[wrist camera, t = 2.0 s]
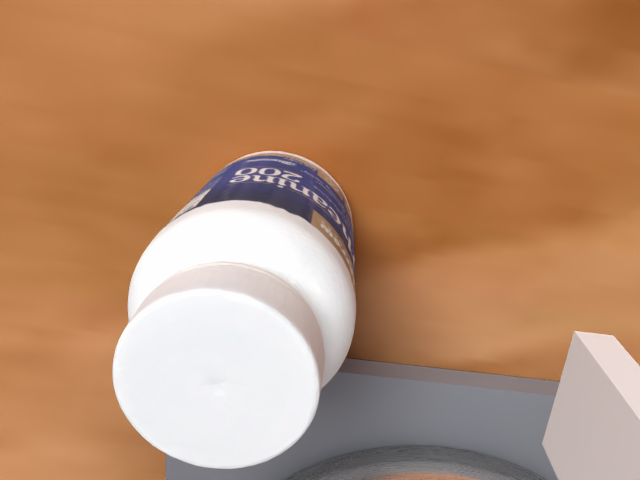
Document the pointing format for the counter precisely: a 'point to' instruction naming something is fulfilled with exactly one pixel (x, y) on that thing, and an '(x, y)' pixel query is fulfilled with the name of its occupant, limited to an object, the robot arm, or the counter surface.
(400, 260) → the counter surface
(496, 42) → the counter surface
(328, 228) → the pill bottle
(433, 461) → the grey shallow round piece
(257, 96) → the counter surface
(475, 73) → the counter surface
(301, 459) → the grey square plate
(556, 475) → the robot arm
